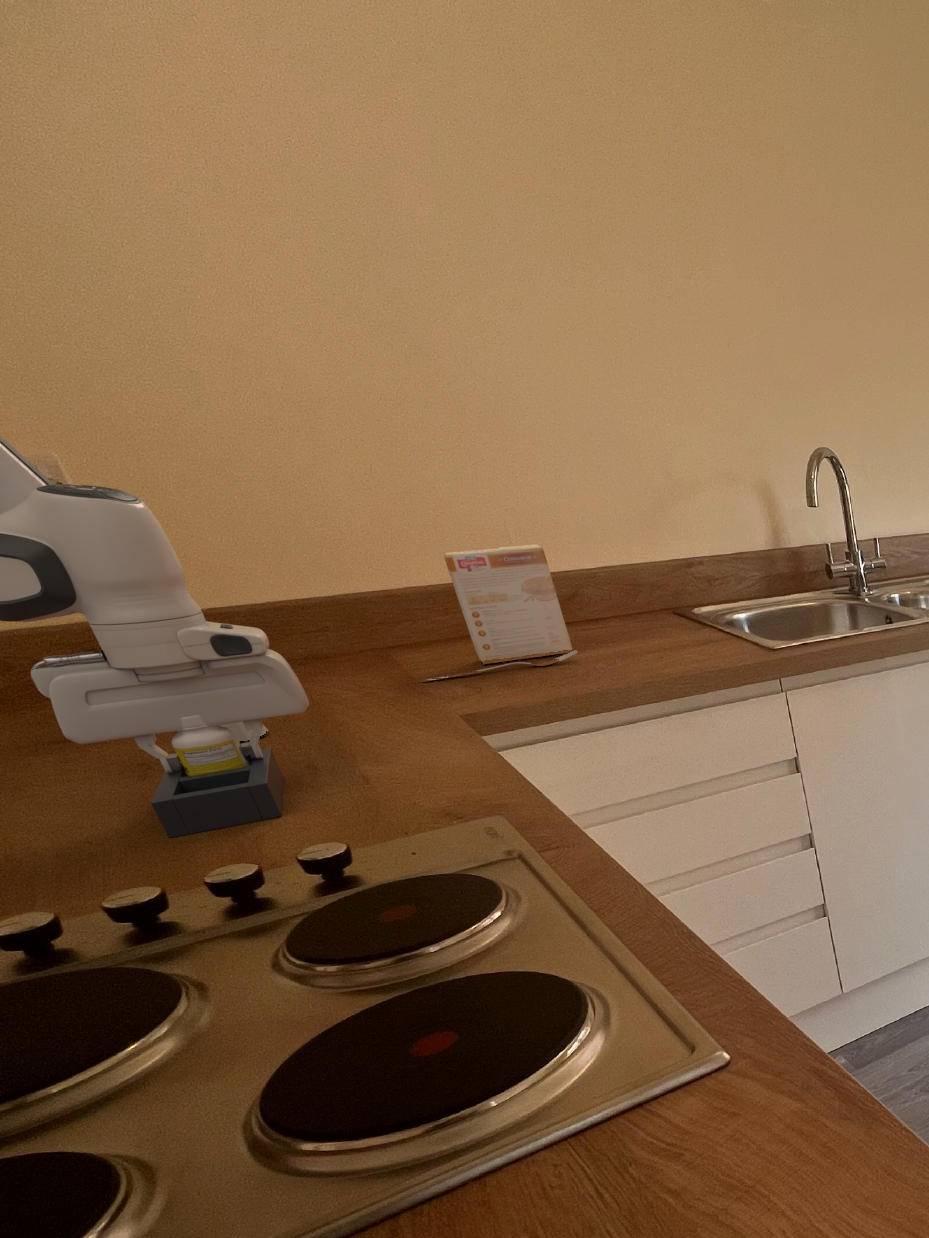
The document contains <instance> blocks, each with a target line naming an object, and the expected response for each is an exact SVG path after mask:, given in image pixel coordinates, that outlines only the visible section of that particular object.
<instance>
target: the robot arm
mask: <svg viewBox="0 0 929 1238" xmlns="http://www.w3.org/2000/svg"><path fill="white" fill-rule="evenodd" d="M74 614H81V615H82V616H83V617H85V619H86V621H87V622H88V624H89V626H90V629H91V630H92V633H93V634H94V636H95V638H96V641H97V642H98V645H99V646H100V648H101V649H100V650H94V651H84V652H78V653H71V654H66V655H65V654H64V655H61V654H53V655H49V656H44V657H43V660H41V661H38V662H36V663H35V664H33V666H32V667H31V669H30V677H31V680H32V681H33V684H34V685H35V687H36V689H37V690H38V692H39V693H40V694H41V695H43V696H44V697H45V698H48V699H49V700H50V702H51V706H52V709H53V712H54V715H55V718H56V721H57V723H58V726H59V728H60V731H61V732H62V734H63V736H64V738H66V740H69V741H71V742H73V743H75V744H78V745H91V744H98V743H104V742H111V741H118V740H126V739H131V738H132V739H134V742H135V744H136V745H137V747H138V748H139V749H141V750H143V751H144V752H146V753H147V754H149V755H150V756H152V757H153V758H155V759H157V760H159V761H160V763H161V766H162V767H163V769H164V771H166V773H173V772H179V771H184V770H185V769H184V767H183V765H182V763H181V761H180V759H179V758H178V756H177V754H176V752H175V753H168V752H167V751H165V750H164V749H162V748H161V747H160V746H158V745H157V744H156V742H157V740H158V738H157V737H156V735H159V734H166V733H173V732H177V731H181V730H182V729H184V728H182V721H181V720H180V718H183V717H190V716H197V715H199V716H201V719H202V721H203V722H204V723H206V725H208V727H209V726H216V725H223V724H230V723H237V722H243V724H244V726H245V728H246V730H248V731H249V730H252V729H253V732H252V735H251V739H250V740H249V741H246V742H240V745H241V746H240V748H241V750H242V752H243V753H245V755H244V757H245V759H246V760H254V759H260V758H263V754H262V751H261V750H262V749H261V747H260V744H259V741H260V739H261V737H260V735H261V732H262V728H263V725H264V723H263V722H262V720H265V719H272V718H278V717H286V716H292V715H293V716H294V715H300V714H304V713H305V712H306V710H307V709H308V708H309V705H310V700H309V697H308V695H307V693H306V691H305V688H304V687H303V685H302V683H301V681H300V679H299V678H298V676H297V674H296V673H295V671H294V670H293V668H292V666H291V665H290V664H289V662H288V661H287V660H286V658H285V657H284V656H282V655H281V654H280V653H279V652H277V651H275V650H272V649H269V648H270V641H269V638H268V636H267V634H266V633H265V632H264V631H263V630H262V629H261V628H258V627H255V626H254V627H253V626H245V625H237V624H230V623H221V622H216V621H215V622H214V621H207V620H206V617H205V615H204V613H203V611H202V609H201V607H200V605H198V603H197V602H196V601H195V600H194V598H193V597H192V596H191V594H190V593H189V591H188V589H187V586H186V580H185V571H184V568H183V566H182V564H181V562H180V560H179V557H178V555H177V553H176V551H175V549H174V547H173V545H172V543H171V541H170V539H169V538H168V536H167V533H166V531H165V530H164V528H163V527H162V525H161V524H160V522H159V520H158V519H157V517H156V516H155V514H154V513H153V512H152V510H151V509H150V508H149V507H148V506H147V505H146V503H145V502H144V501H143V500H141V499H140V498H139V497H137V496H135V495H133V494H131V493H129V492H126V491H125V490H120V489H116V488H111V487H106V486H99V485H87V484H70V483H68V484H67V483H65V484H63V483H61V484H54V483H53V482H52V481H51V480H49V478H47V477H46V476H45V475H44V474H43V473H42V472H41V471H40V470H39V469H38V468H36V467H35V466H34V465H33V464H32V463H31V462H30V461H28V459H26V458H25V457H24V456H23V455H22V454H21V453H20V452H18V450H17V449H15V448H14V447H13V445H11V444H10V443H9V442H8V441H7V440H5V438H3V437H2V436H1V435H0V622H6V623H7V622H8V623H9V622H15V623H17V622H18V623H29V622H38V621H43V620H48V619H52V618H60V617H66V616H71V615H74ZM45 665H46V667H43V666H45Z"/></svg>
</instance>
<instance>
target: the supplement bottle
mask: <svg viewBox="0 0 929 1238" xmlns="http://www.w3.org/2000/svg"><path fill="white" fill-rule="evenodd" d="M180 720H181V721H182V728H184V729H182V730H181V731H176V732H177V733H176V734H174V735H173V736H172V738H171V740H170V744H171V745H172V747H173V750H174V752H175V753H176V754H177V756H178V758H179V759H180V761H181V763H182V765H183V767H184V769H185V771H186V773H187V775H188V776H193V775H199V774H205V773H211V772H217V771H223V770H229V769H235V768H241V767H247V766H250V764H249V762H248V760H246V759H245V757H244V755H245V753H243V752H242V750H241V748H240V746H241V742H239V741H238V739H237V736H236V735H235V733H234V731H233V730H232V729H230V728H228V727H224V726H220V725H216V726H209V727H208V725H206V723H204V722H203V721H202V719H201V716H199V715H197V716H190V717H183V718H180Z"/></svg>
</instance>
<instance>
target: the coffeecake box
mask: <svg viewBox="0 0 929 1238" xmlns="http://www.w3.org/2000/svg"><path fill="white" fill-rule="evenodd" d="M543 547H544V546H540V545H539V544H535V543H534V544H526V545H525V544H524V545H514V546H513V545H512V546H499V547H487V548H486V547H485V548H475V549H474V548H473V549H463V550H450V551H449V550H448V551H442V556H443V558H444V561H445V564H446V567H447V568H446V569H447V570H448V573H449V575H450V579H451V582H452V585H453V588H454V591H455V594H456V597H457V600H458V603H459V607H460V609H461V612H462V615H463V618H464V620H465V624H466V627H467V630H468V633H469V635H470V636H469V637H470V638H471V642H472V644H473V647H474V650H475V653H476V656H477V655H478V656H477V658H478V657H479V658H478V660H479V659H480V660H481V661H485V660H492V659H504V658H511V657H522V656H526V655H532V654H545V653H549V652H558V651H563V650H572V649H573V645H572V642H571V637H570V634H569V631H568V628H567V625H566V622H565V619H564V615H563V612H562V608H561V605H560V602H559V598H558V595H557V590H556V588H555V584H554V582H553V578H552V575H551V571H550V568H549V564H548V560H547V557H546V554H545V550H544V548H543ZM573 650H574V649H573ZM480 660H479V661H480Z"/></svg>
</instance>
